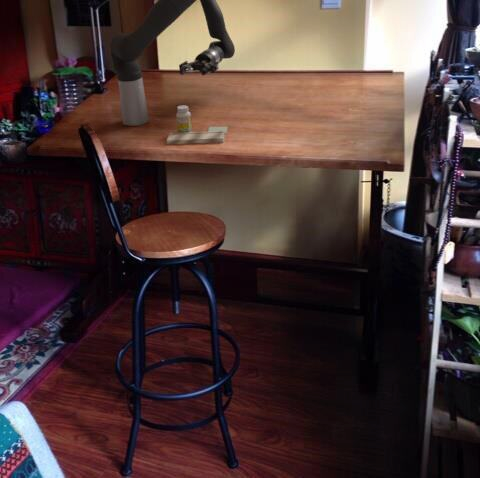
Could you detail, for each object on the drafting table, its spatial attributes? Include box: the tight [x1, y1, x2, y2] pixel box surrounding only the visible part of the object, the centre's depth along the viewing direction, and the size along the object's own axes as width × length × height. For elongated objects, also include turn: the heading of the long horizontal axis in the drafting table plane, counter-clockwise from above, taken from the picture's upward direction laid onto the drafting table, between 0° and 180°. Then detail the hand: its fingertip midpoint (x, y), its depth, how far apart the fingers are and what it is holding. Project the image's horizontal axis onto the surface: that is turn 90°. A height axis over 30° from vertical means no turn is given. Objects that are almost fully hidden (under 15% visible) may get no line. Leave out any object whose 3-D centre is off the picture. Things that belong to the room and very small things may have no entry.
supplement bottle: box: [175, 105, 193, 133], centre depth 229 cm, size 5×5×10 cm
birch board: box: [166, 131, 226, 145], centre depth 223 cm, size 20×7×2 cm, turn 86°
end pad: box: [207, 125, 229, 135], centre depth 230 cm, size 7×7×1 cm
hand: (191, 72), depth 230 cm, fingers open, 8 cm apart
